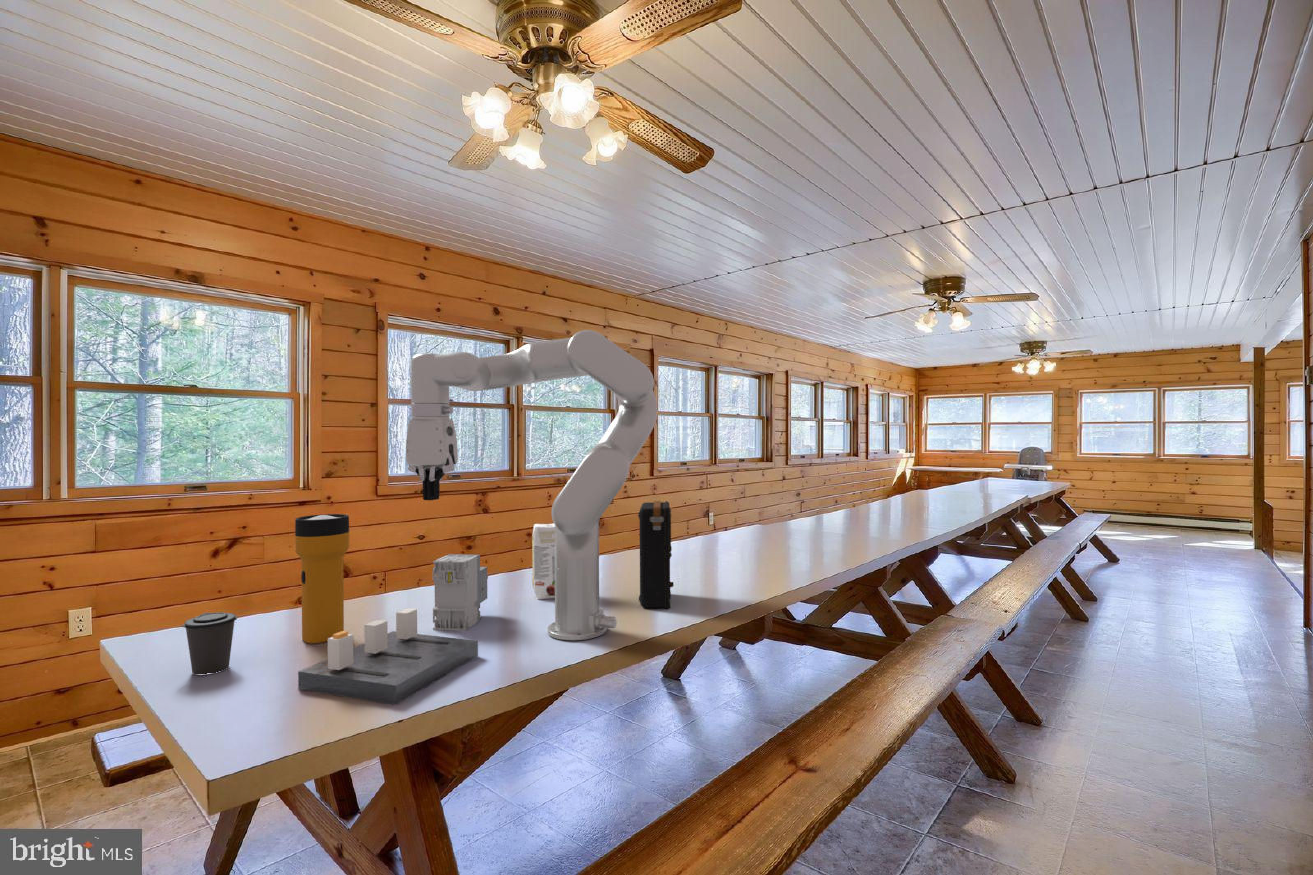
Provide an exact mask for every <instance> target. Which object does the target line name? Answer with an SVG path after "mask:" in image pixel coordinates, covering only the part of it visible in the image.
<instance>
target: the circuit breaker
mask: <svg viewBox="0 0 1313 875" xmlns="http://www.w3.org/2000/svg"><path fill="white" fill-rule="evenodd" d="M432 564H434V566H433V568H432V582H433V581H434V607H433V608H432V623H433V624H434V627H432V630H434V631H436V630H437V631H467V629H468V630H469V629H470V628H471V627H472V626H474V625H475V624H476V623H478V622H479V621H480V620H481V611H480V608H481V603H483V602H484V601H486V600H487V599H488V579H489V575H488V566H481V555H480V554H452V553H451V554H450V553H449V554H447V555H444V556H442V557H439V558H438V559H435V560H433V561H432Z"/></svg>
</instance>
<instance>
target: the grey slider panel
mask: <svg viewBox="0 0 1313 875" xmlns="http://www.w3.org/2000/svg"><path fill="white" fill-rule="evenodd" d="M387 636H388V648H387V649H385V650H383V651H380V652H378V653H376V654H373V653H365V642H364V643H362V644H359V645H357V646H355V647H353V664H352V665H349V666H347V667H345V668H343V669H341V670H334V669H328V658H326V659H324V660H322V661H319V662H318V663H315V664H312V665H310V666H307V667H305V668H303V669H300V670H299V671H298V672H297V674H298V678H297V680H298V681H297V682H298V683H297V684H298V685H297V686H298V687H297V689H298V690H300V689H301V690H300V691H308V692H313V691H315V692H314V693H319V694H327V695H332V696H339V697H344V696H346V697H345V698H351V697H352V699H357V698H358V699H359V700H364V701H370V702H377V703H382V704H390V705H398V704H400V703H401V702H403V701H405V700H406V699H408V698H410V697H411V696H413V695H415V694H416V693H418V692H420V691H422V690H424V689H425V688H427V687H428V686H430V685H432V684H433V683H436V681H439V680H441V679H443V677H446V676H448V675H449V674H450V673H452V672H454V671H456V670H457V669H459V668H461V667H462V666H465V665H466V664H467V663H469V662H471V661H473V660H474V659H477V658H478V657H479V641H478V640H474V639H465V638H456V637H447V636H439V635H431V634H419V633H417V635H415V636H413V637H411V638H409V639H398V638H396V630H395V631H394V630H393V631H390V632H387Z"/></svg>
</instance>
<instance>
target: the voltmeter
mask: <svg viewBox="0 0 1313 875" xmlns="http://www.w3.org/2000/svg"><path fill="white" fill-rule="evenodd" d="M639 508H640V509H639V511H638V515H637V516H638V518H639V519H638V520H639V596H638V602H639V604H640V606H641V607H642V608H645V609H647V608H648V609H651V608H652V609H654V608H655V609H657V608H658V609H659V608H662V609H663V608H664V609H666V610H669V609H670V608H671V598H672V597H671V596H672V595H671V594H672V592H671V591H672V590H671V588H674V582H673V581H671V557H672V556H673V554H672V550H673V548H672V509H671V508H670V502H669V501H664V502H662V501H661V500H654V501H653V502H643V503H642V504H641V506H640V507H639Z"/></svg>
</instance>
